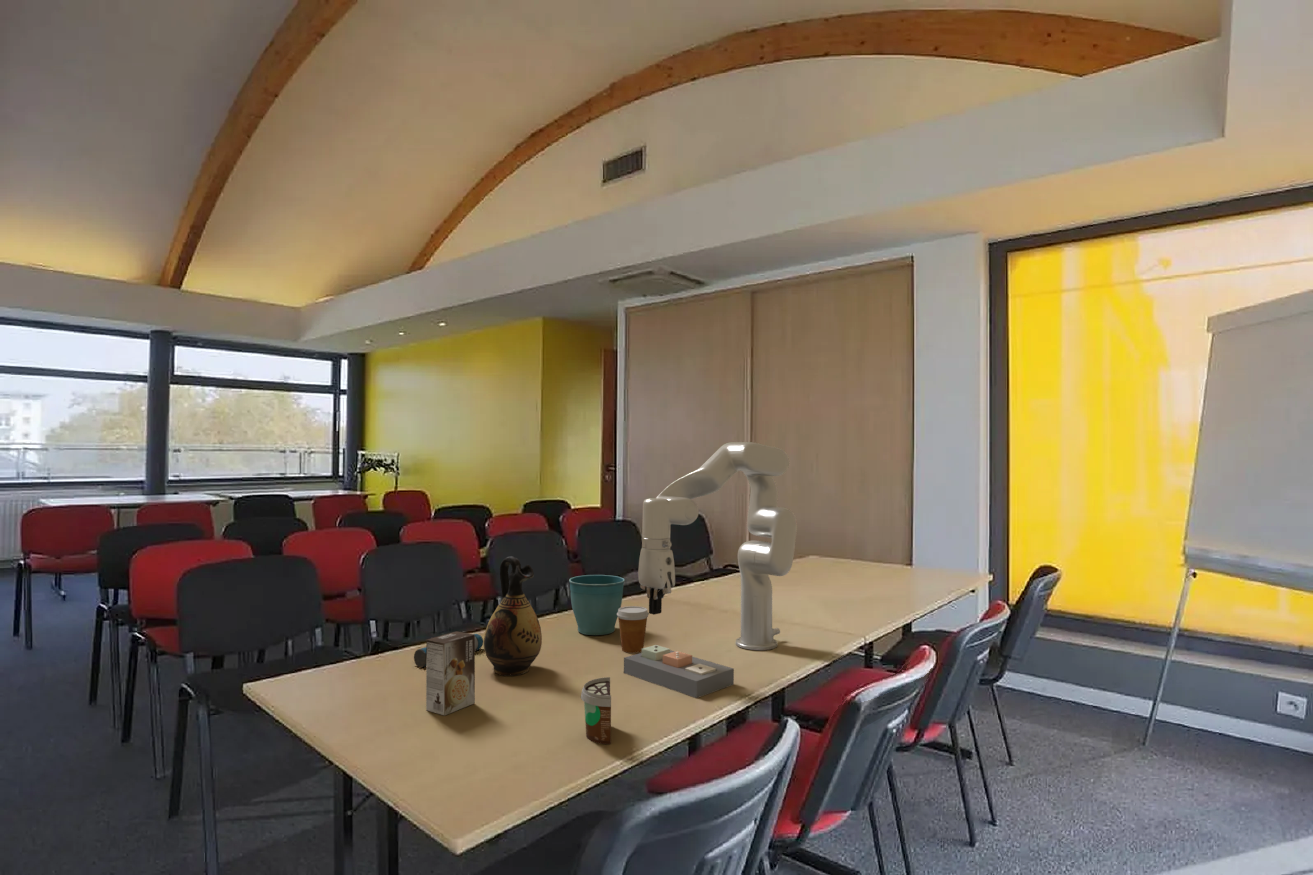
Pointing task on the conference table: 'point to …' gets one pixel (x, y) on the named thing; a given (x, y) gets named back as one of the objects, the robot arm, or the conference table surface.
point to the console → (680, 675)
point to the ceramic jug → (513, 624)
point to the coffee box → (450, 672)
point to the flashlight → (421, 653)
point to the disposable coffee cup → (632, 628)
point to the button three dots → (677, 659)
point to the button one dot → (700, 669)
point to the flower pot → (596, 602)
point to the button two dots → (655, 652)
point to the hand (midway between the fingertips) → (655, 613)
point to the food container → (597, 710)
